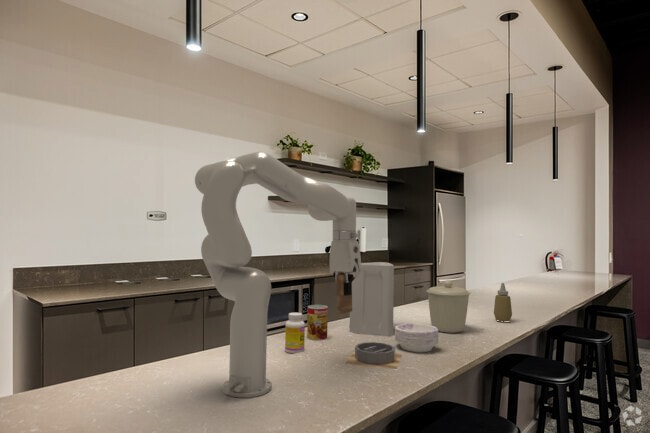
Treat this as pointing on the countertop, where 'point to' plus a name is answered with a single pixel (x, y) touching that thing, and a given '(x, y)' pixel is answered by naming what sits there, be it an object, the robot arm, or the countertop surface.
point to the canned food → (317, 322)
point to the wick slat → (342, 296)
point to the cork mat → (391, 365)
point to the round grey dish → (373, 356)
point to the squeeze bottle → (502, 305)
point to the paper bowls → (416, 337)
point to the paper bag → (373, 300)
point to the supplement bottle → (294, 333)
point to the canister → (448, 307)
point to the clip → (374, 349)
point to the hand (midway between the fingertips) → (344, 294)
